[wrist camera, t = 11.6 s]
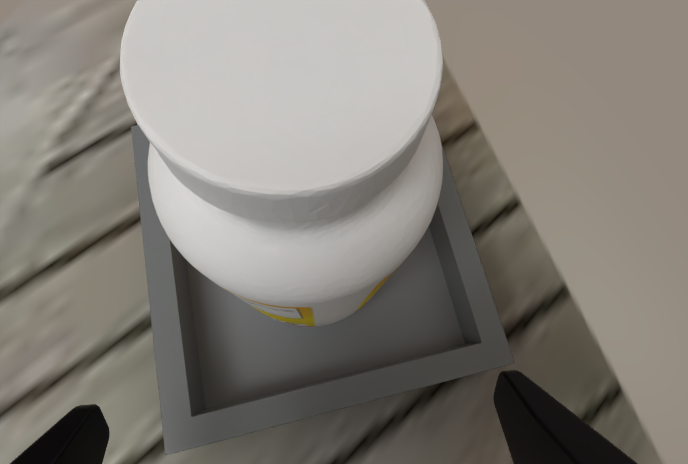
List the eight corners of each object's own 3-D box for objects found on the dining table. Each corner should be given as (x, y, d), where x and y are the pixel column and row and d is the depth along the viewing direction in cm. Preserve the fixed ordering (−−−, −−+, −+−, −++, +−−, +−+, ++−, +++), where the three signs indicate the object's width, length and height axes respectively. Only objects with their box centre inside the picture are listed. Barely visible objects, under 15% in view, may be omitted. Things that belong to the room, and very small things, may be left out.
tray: (488, 361, 18) (514, 362, 15) (188, 440, 16) (165, 455, 14) (408, 108, 21) (419, 78, 19) (154, 153, 20) (131, 126, 17)
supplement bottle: (360, 170, 19) (432, -145, 7) (402, 305, 18) (594, 198, 5) (220, 203, 18) (25, -92, 6) (251, 348, 17) (65, 337, 4)
